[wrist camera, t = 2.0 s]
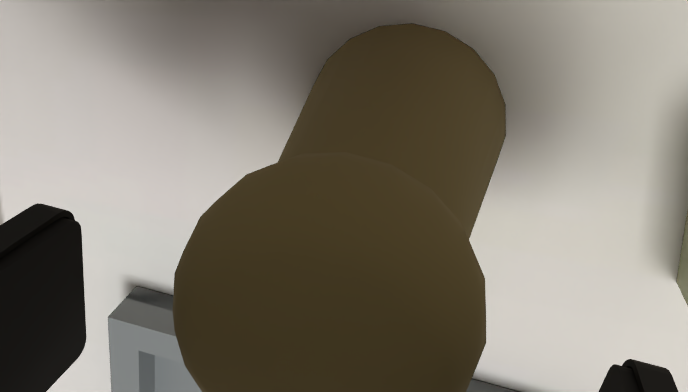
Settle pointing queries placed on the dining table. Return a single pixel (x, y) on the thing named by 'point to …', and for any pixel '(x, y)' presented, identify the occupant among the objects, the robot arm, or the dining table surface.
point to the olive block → (684, 265)
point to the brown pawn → (353, 232)
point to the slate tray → (162, 348)
